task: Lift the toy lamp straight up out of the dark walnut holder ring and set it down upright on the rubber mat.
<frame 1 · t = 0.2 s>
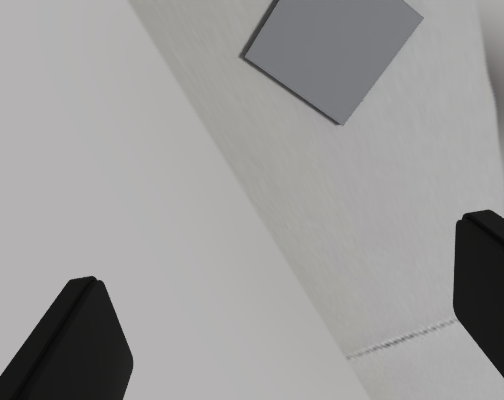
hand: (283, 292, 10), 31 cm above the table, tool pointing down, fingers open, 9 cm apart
mat: (331, 37, 36), on the table
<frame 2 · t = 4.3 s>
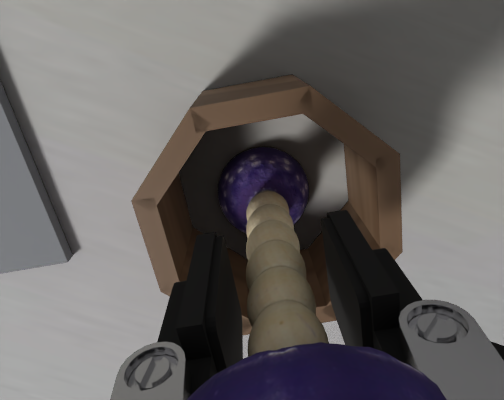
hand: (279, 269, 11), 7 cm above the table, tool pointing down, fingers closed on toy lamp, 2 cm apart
holder ring: (264, 183, 18), on the table
toy lamp: (264, 182, 18), resting in holder ring, touching gripper
when the fingers open (10 cm above the table, at t = 11.5 s): toy lamp drops 2 cm, resting on mat.
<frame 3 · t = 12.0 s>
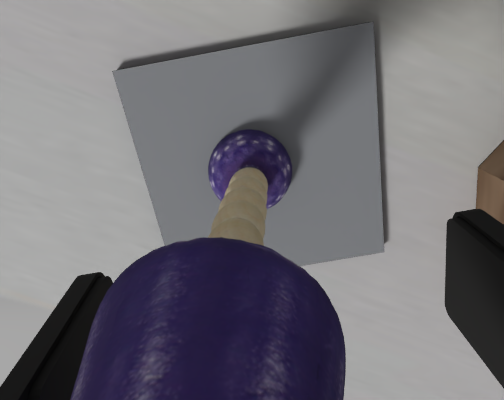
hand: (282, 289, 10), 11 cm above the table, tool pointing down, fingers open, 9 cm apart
mat: (261, 167, 20), on the table
toy lamp: (252, 163, 19), point 1 cm above the table, touching mat
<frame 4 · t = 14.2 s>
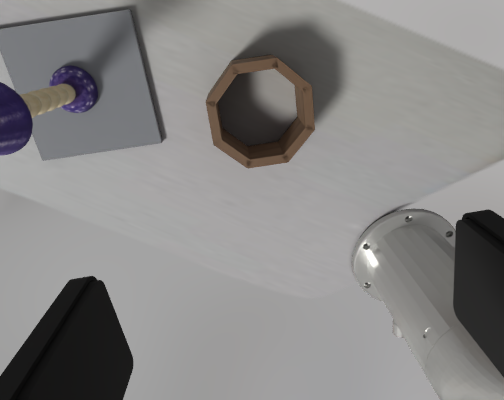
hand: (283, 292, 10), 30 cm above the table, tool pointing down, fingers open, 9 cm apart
mat: (84, 89, 36), on the table
holder ring: (257, 106, 38), on the table
toy lamp: (76, 85, 35), resting on mat
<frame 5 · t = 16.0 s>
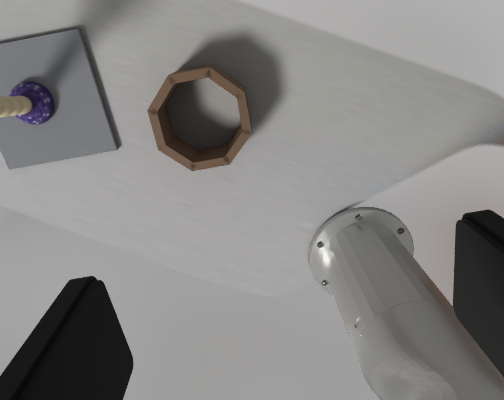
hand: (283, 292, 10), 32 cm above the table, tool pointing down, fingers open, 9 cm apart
mat: (43, 102, 39), on the table
holder ring: (204, 113, 40), on the table
toy lamp: (35, 99, 39), point 1 cm above the table, touching mat
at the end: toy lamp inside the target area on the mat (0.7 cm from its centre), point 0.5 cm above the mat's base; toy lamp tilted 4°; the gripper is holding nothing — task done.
